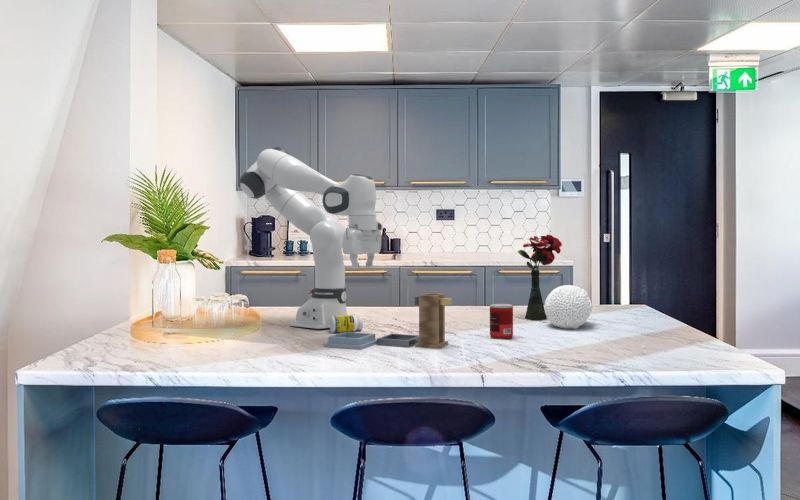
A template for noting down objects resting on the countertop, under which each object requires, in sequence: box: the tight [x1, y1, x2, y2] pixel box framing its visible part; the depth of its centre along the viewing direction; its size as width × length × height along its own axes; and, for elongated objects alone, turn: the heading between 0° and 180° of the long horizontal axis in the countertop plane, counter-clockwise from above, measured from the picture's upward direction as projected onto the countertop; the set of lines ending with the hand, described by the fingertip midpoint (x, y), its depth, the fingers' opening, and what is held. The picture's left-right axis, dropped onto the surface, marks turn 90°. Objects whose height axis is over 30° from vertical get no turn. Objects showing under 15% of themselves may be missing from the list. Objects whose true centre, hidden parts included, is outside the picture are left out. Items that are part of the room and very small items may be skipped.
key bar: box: [414, 295, 453, 306], centre depth 190 cm, size 11×4×3 cm, turn 67°
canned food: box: [489, 303, 514, 340], centre depth 206 cm, size 8×8×11 cm
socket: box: [376, 333, 419, 348], centre depth 195 cm, size 11×11×2 cm
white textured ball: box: [544, 284, 593, 330], centre depth 225 cm, size 20×18×16 cm
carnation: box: [517, 234, 563, 321], centre depth 242 cm, size 16×18×35 cm
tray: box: [323, 331, 377, 351], centre depth 192 cm, size 13×13×3 cm
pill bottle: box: [329, 314, 364, 334], centre depth 217 cm, size 6×6×11 cm
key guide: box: [414, 292, 449, 349], centre depth 190 cm, size 8×8×16 cm
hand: (362, 268), depth 195 cm, fingers open, 8 cm apart
